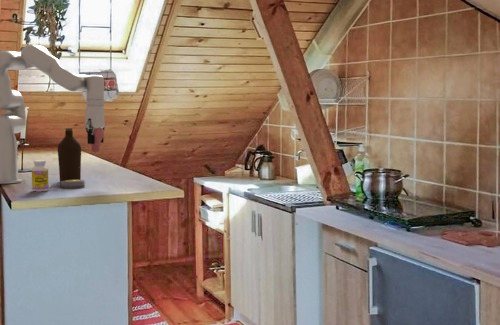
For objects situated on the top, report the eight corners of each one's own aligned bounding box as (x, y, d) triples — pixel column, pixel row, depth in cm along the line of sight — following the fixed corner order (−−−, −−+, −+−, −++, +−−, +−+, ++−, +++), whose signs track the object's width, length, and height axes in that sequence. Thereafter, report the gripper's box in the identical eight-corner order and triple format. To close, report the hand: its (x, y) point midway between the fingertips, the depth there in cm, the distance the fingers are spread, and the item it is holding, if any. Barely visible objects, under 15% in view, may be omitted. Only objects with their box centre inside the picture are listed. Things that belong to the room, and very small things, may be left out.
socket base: (56, 187, 282) (56, 181, 282) (69, 184, 292) (69, 178, 291) (77, 188, 279) (76, 182, 279) (88, 185, 289) (88, 179, 289)
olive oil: (70, 183, 295) (69, 129, 292) (53, 181, 300) (52, 128, 297) (86, 180, 305) (85, 127, 302) (69, 179, 309) (68, 127, 307)
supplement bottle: (32, 192, 270) (31, 161, 268) (31, 190, 276) (30, 160, 274) (49, 191, 272) (48, 161, 271) (47, 189, 278) (46, 159, 277)
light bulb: (97, 151, 294) (97, 125, 292) (107, 152, 289) (107, 125, 288) (84, 152, 288) (83, 125, 287) (94, 153, 284) (93, 126, 282)
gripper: (97, 102, 295) (97, 141, 297) (77, 103, 279) (77, 144, 281) (112, 103, 293) (112, 142, 295) (92, 103, 277) (93, 145, 279)
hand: (95, 142), depth 288 cm, fingers closed on light bulb, 7 cm apart
